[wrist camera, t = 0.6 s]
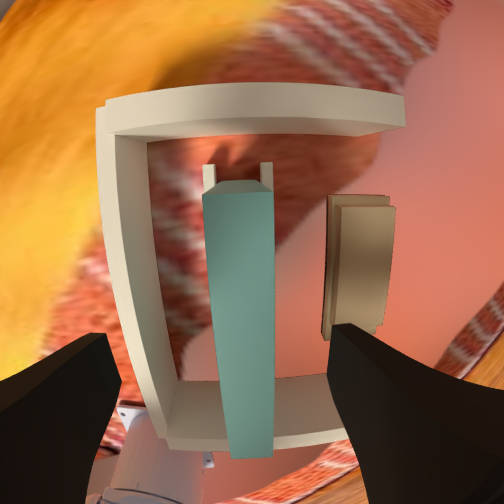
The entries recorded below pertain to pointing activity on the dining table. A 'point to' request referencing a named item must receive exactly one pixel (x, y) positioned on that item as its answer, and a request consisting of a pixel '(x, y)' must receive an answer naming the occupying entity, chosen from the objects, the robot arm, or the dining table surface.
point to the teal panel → (243, 309)
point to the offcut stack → (357, 260)
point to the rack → (138, 196)
